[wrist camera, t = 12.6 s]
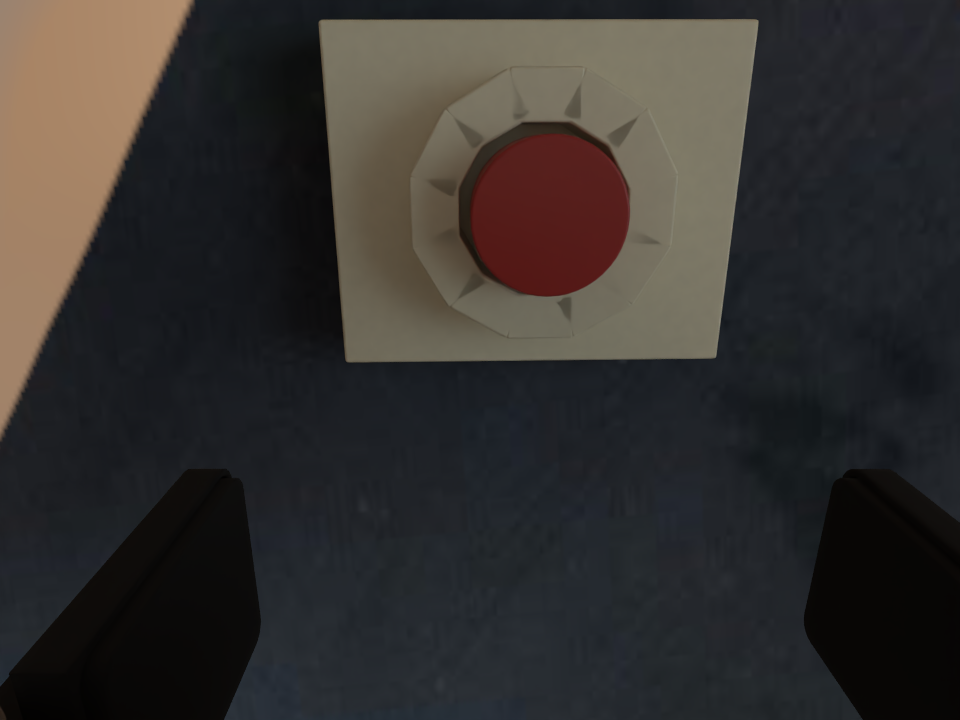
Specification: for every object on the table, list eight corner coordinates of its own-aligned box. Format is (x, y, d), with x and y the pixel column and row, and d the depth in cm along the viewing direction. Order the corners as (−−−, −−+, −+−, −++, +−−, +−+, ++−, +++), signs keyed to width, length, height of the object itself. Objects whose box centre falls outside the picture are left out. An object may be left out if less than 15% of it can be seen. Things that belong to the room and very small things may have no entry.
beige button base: (357, 341, 20) (332, 386, 17) (334, 33, 17) (298, 3, 14) (691, 337, 21) (742, 381, 17) (726, 33, 18) (796, 3, 14)
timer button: (470, 282, 16) (470, 298, 15) (469, 134, 15) (469, 133, 13) (608, 281, 16) (625, 297, 15) (618, 133, 15) (637, 132, 13)
